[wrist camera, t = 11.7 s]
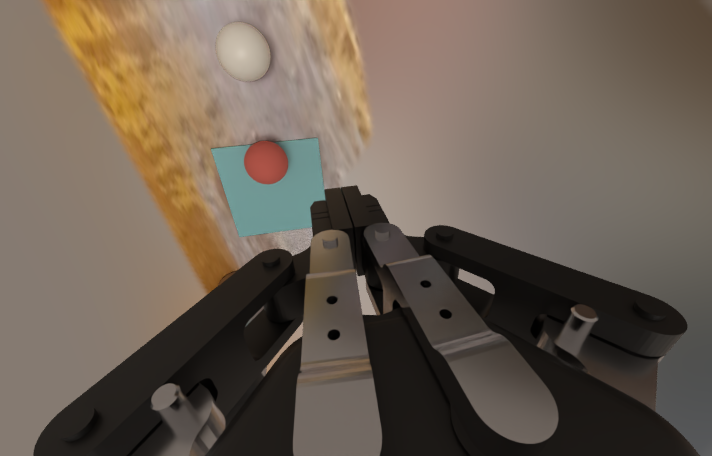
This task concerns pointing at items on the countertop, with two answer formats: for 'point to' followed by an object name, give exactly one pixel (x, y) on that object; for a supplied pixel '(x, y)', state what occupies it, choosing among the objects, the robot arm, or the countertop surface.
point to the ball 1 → (243, 51)
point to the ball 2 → (266, 162)
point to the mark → (272, 189)
